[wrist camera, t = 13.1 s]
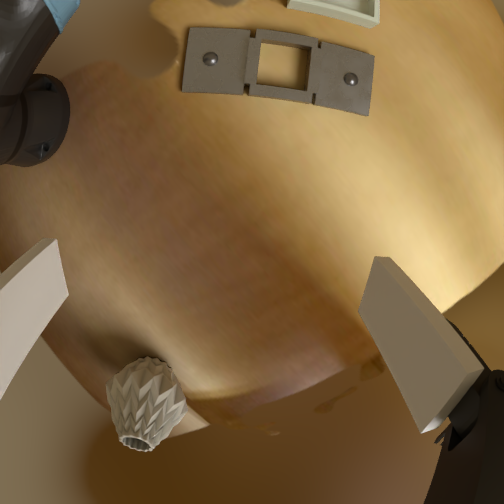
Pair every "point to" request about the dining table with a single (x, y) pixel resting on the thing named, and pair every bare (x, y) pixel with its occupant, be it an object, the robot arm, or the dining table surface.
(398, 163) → the dining table surface
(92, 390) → the dining table surface
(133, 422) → the vase
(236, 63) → the socket bracket
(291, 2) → the tray
